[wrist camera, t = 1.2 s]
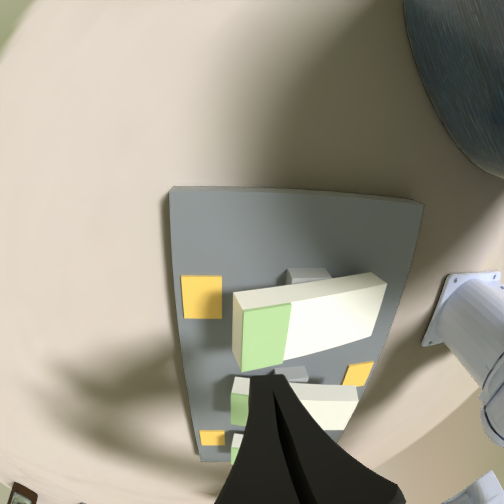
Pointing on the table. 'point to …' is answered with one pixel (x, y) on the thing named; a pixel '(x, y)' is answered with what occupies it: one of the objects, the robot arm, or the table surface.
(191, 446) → the table surface
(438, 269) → the table surface
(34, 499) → the olive oil
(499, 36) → the planter
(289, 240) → the switch unit
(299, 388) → the block
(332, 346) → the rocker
